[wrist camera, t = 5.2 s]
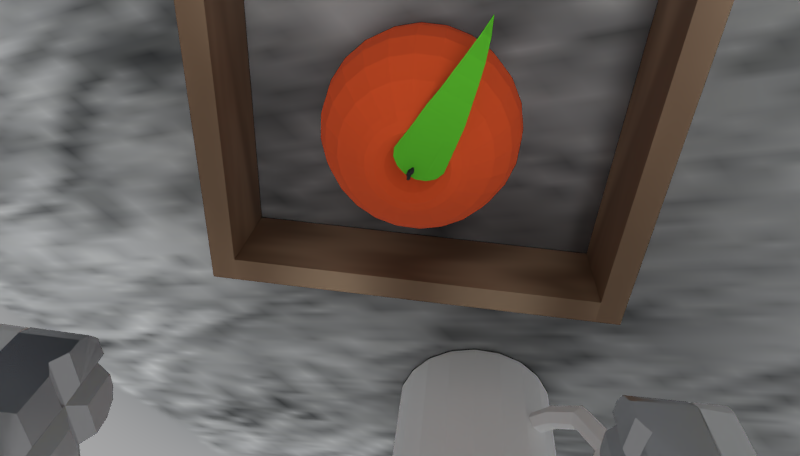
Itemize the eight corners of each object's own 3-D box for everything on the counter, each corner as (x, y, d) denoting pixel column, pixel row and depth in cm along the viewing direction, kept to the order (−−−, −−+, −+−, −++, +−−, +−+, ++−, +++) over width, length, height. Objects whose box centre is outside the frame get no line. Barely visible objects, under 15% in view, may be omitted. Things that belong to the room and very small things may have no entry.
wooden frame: (733, -144, 17) (786, -150, 14) (603, 274, 26) (619, 324, 23) (199, -178, 18) (146, -191, 15) (242, 233, 27) (213, 276, 24)
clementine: (404, -62, 20) (372, -38, 14) (570, 37, 21) (610, 100, 15) (316, 126, 24) (261, 209, 18) (459, 201, 25) (453, 303, 19)
